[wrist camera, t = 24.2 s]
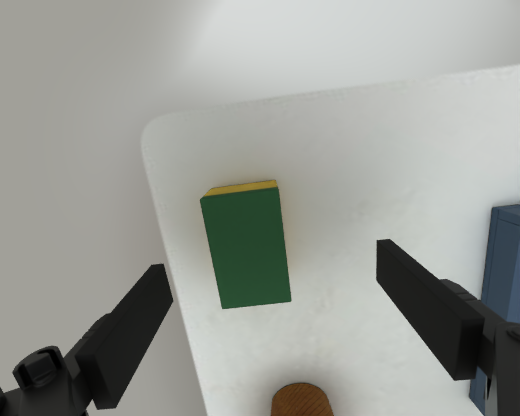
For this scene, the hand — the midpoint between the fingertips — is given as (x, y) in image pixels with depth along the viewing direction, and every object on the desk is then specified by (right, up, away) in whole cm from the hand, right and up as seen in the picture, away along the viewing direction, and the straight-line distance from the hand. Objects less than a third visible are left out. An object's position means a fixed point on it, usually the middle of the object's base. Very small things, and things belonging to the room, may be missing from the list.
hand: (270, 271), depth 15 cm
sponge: (-1, +2, +7) cm, 7 cm away
